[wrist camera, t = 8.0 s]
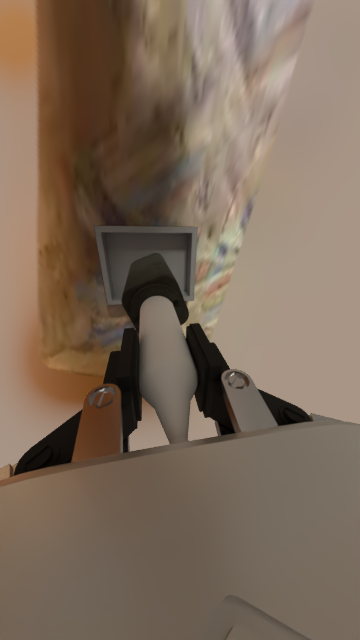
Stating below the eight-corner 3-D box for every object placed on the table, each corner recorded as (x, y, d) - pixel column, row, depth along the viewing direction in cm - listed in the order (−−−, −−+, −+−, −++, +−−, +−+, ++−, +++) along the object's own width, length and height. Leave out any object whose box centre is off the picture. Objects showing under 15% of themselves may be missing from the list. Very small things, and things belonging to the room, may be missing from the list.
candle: (173, 282, 29) (266, 469, 7) (142, 295, 29) (143, 518, 7) (160, 250, 27) (243, 383, 5) (127, 264, 27) (56, 459, 5)
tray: (99, 225, 30) (93, 225, 26) (191, 226, 32) (197, 227, 29) (110, 297, 35) (107, 305, 32) (189, 293, 38) (193, 300, 34)
